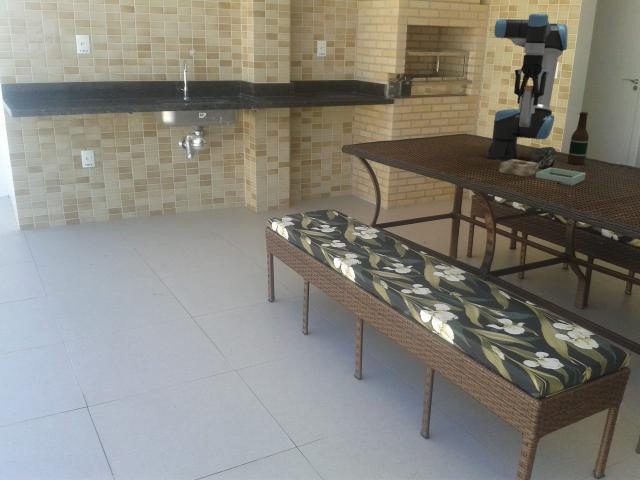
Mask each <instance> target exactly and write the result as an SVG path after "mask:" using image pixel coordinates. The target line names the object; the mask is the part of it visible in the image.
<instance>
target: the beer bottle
mask: <svg viewBox="0 0 640 480" xmlns="http://www.w3.org/2000/svg"><path fill="white" fill-rule="evenodd" d="M578 115H579V117H578V118H579V119H578V122H577V127H576V130H574V132H573V133H572V134H571V138H570V142H569V143H570V144H569V150H568V155H567V164H570V165H573V166H583V165H585V163H586V158H587V151H588V147H589V145H588V144H589V133H588V131H587V122H588V115H589V112H588V111H587V112H586V111H580V112H579V113H578Z"/></svg>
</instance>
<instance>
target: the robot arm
mask: <svg viewBox="0 0 640 480" xmlns="http://www.w3.org/2000/svg"><path fill="white" fill-rule="evenodd" d="M493 32H494V37H495V38H496V39H498V38H499V39H508V40H510V41H511V42H512V43H513V44H514V45H515V46H519V47H521V48H524V50H523V51H524V52H523V53H524V55H523V59H522V66H521V68H519V69H515V70H514V73H515V79H514V91H513V94H515V95H516V96H517V104H518V108H509V109H501V110H497V111H496V113H495V115H494V120H493V128H492V129H493V130H492V139H491V143H490V145H489V147H488V150H487V151H486V157H487V158H488V159H492V160H493V159H494V160H498V161H499V160H500V161H508V160H511V159H515V160H520V159H519V157H520V151H519V147H518V138H520V139H521V138H523V139H535V140H546V139H547V140H548V138H549V136H550V134H551V131H552V129H553V125H554V121H555V115H554V114H552V113H553V111H552V109H551V108H550V106H551V102H552V101H551V100H552V95H553V89H554V85H555V84H554V83H555V79H556V77H555V76H556V73H557V72H556V71H557V67H558V66H557V65H558V60H559V58H560V57H561V56H562V55H563V53H564V52H563V51H566V50H567V49H568V26H567V25H566V24H565V23H557V22H556V23H550V22H549V15H548V14H547V13H531V14H529V15H528V19H506V18H504V19H497V20H496V22H495V25H494V31H493ZM522 73H523V77H522ZM521 79H522V81H521ZM529 79H531V80H532V86H533V90H534V96H533V97H532V101H531V109H530V114H531V122H530V127H521V126H519V122H520V114H521V106H522V98H523V89H524V86H526V85H527V83H528V81H529Z"/></svg>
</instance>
